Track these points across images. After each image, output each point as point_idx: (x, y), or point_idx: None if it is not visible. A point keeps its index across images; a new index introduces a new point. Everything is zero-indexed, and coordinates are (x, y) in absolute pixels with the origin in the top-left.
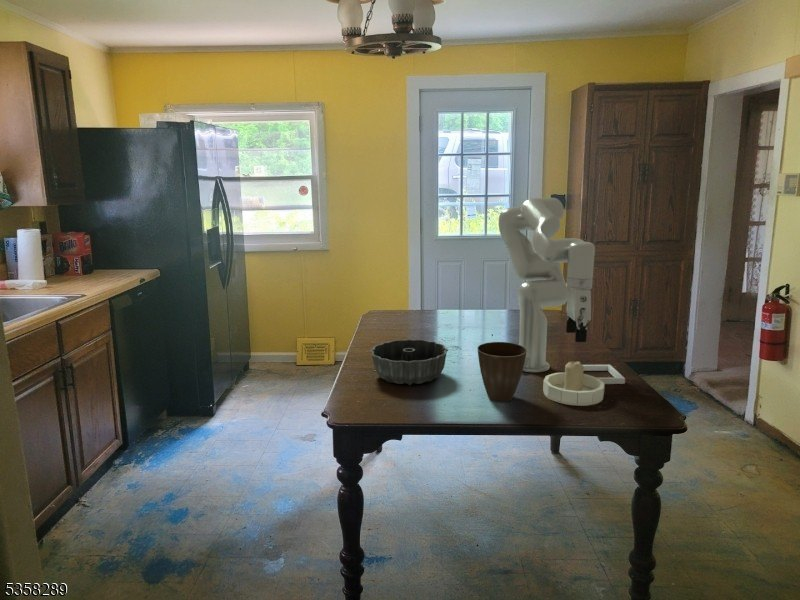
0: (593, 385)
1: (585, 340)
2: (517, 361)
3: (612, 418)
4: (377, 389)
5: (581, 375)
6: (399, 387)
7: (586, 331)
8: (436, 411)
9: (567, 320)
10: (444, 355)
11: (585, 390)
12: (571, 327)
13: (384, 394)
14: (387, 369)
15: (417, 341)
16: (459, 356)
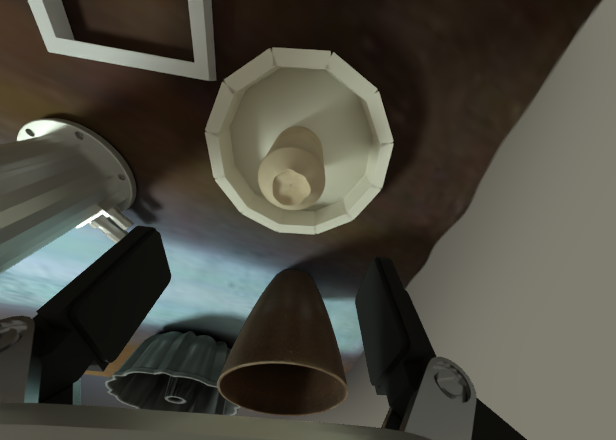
0: (276, 69)
1: (390, 265)
2: (341, 365)
3: (477, 122)
4: None
5: (321, 157)
6: None
7: (419, 328)
8: None
9: (95, 368)
10: (198, 376)
11: (292, 107)
12: (141, 289)
13: None
14: None
15: (111, 384)
16: (63, 284)
